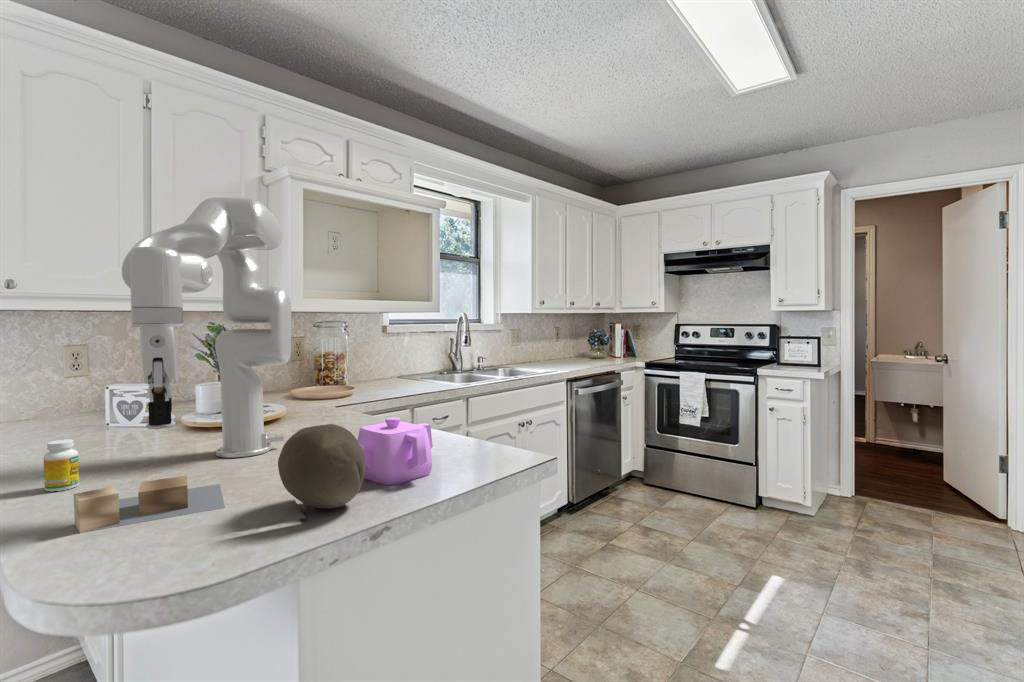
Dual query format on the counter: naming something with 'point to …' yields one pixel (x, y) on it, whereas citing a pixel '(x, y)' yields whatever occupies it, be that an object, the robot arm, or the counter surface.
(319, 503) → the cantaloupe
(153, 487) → the wooden block
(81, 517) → the oak block
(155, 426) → the rook chess piece
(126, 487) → the counter surface
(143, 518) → the slate mat
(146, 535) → the counter surface
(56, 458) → the supplement bottle
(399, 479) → the teakettle
